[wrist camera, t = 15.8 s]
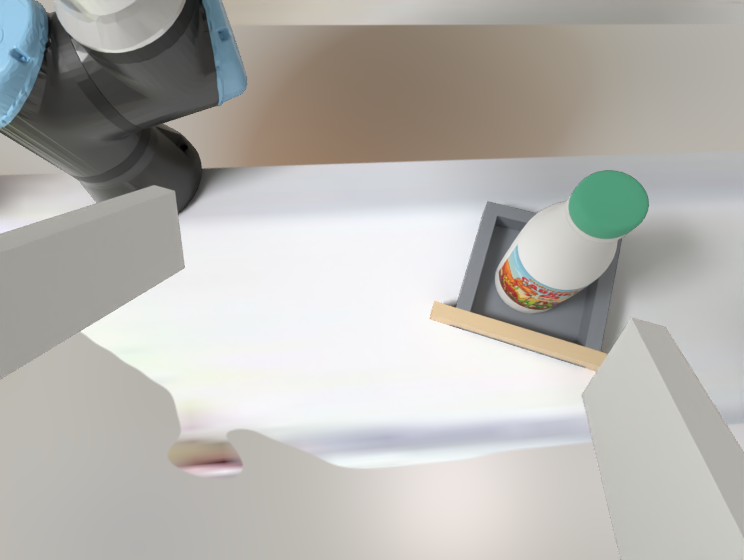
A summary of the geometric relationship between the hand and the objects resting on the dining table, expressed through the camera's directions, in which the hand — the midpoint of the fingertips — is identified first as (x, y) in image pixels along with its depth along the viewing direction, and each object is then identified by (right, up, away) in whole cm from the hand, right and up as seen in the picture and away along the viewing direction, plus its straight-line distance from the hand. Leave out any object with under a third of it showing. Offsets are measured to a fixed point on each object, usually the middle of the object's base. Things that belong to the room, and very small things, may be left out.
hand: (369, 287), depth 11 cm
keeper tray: (+19, 0, +34) cm, 38 cm away
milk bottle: (+18, 0, +33) cm, 38 cm away
